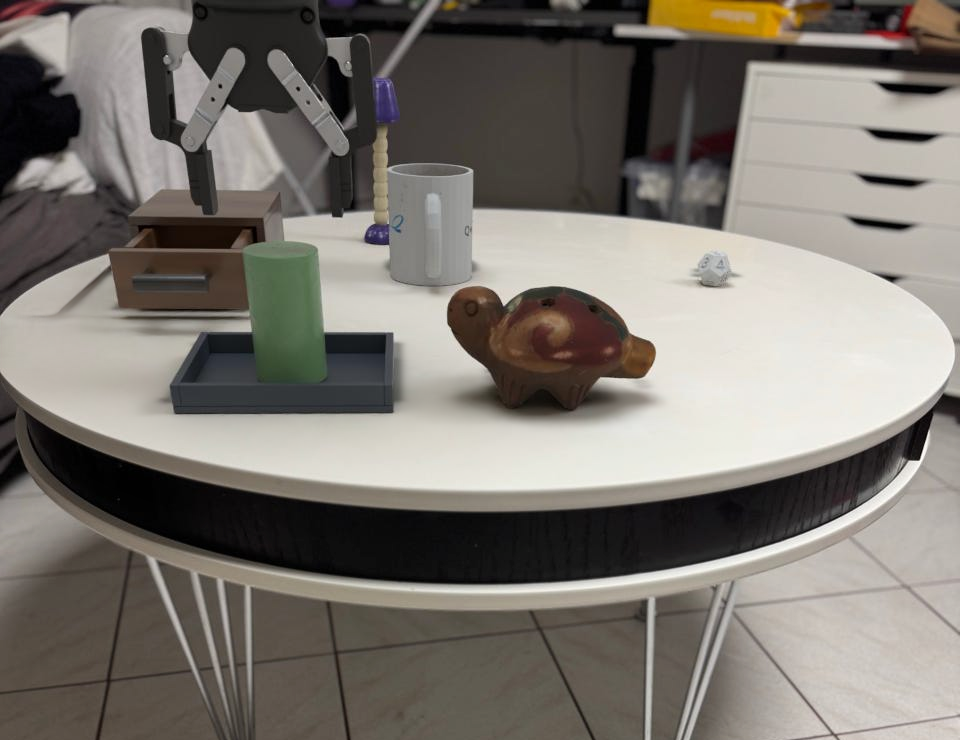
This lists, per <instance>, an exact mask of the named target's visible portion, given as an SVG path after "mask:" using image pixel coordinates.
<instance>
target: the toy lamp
mask: <svg viewBox="0 0 960 740" xmlns="http://www.w3.org/2000/svg"><path fill="white" fill-rule="evenodd" d="M373 81H374V93H375V106H376V118H377V130H378V132H377V138H376V141H375V142H374V143H373V144H372V149H373V151H374V152H373V155H372V163H373V166H374V168H373V172H372V174H373V180H374V182H373V186H372V187H373V195H374V198H373V208H374V212H373V221H374V223H372V224H371V225H369V226H368V227H367V229H366V230H365V233H364V237H363V239H364V241H365V242H366V243H370V244H374V245H389V217H388V185H387V169H388V167H387V166H388V162H389V155H388V153H387V151H388V147H389V145H388V144H389V143H388V139H387V136H388V124H397V123H399V122H400V120H401V116H400V115H401V114H400V111H399V106H398V105H399V104H398V101H397V96H396V93H395V88H394V84H393V82H392V80H391V79H390V78H387V77H386V78H385V77H373Z"/></svg>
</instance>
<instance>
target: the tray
mask: <svg viewBox="0 0 960 740" xmlns="http://www.w3.org/2000/svg"><path fill="white" fill-rule="evenodd" d="M394 335H395V334H394V332H393V331H388V332H387V331H324V336H325V349H326V362H327V377H326V379H324V380H323V381H322V382H278V383H262V382H260V381H259V380H258V378H257V371H256V363H255V354H254V346H253V338H252V331H201V332H200V333H199V335H198V337H197V338H196V340H195V342H194V343H193V345H192V346H191V348H190V350H189V352H188V353H187V356H186V357H185V358H184V360H183V361H182V364H181V365H180V367H179V369H178V370H177V372H176V374H175V376H174V377H173V379H172V381H171V382H170V384H169V391H170V397H171V402H172V407H173V413H174V414H291V413H292V414H300V413H302V414H303V413H304V414H305V413H306V414H309V413H311V414H313V413H314V414H315V413H316V414H317V413H319V414H321V413H324V414H325V413H328V414H330V413H332V414H333V413H335V414H337V413H338V414H339V413H340V414H341V413H394V406H395V405H394V400H395V398H394V397H395V396H394V394H395V338H394V337H395V336H394Z"/></svg>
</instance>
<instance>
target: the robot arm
mask: <svg viewBox="0 0 960 740" xmlns="http://www.w3.org/2000/svg"><path fill="white" fill-rule="evenodd" d="M190 3H191V13H192V17H191V18H192V19H191V25H190V29H189V31H188V32H186V31H184V32H183V31H175V30H166V29H165V28H164V27H161V26H156V25H155V26H149V27H146V28H144V29H143V30H142V32H141V35H140V42H141V53H142V61H143V73H144V81H145V82H144V83H145V90H146V102H147V111H148V112H147V113H148V121H149V131H150V133H151V135H152V136H153V138H155V139H156V140H158V141H166V142H168V143H170V144H172V145H174V146H177V147H179V149H181V150H182V152H183V154H184V158H185V164H186V171H187V178H188V186H189V190H190V194H191V198H192V200H193V202H194V204H195V206H202V212H203V215H212V216H215V214H216V213H217V212H218V200H217V192H216V190H217V185H216V176H215V169H214V161H213V160H214V159H213V152H212V149H208V144H207V141H208V139H209V138H210V136H211V134H212V132H213V131H214V129H215V127H216V125H217V124H218V122H219V121H220V119H221V118H222V116H223V115H224V113H225V111H226V110H227V107H228V106H229V107H231V108H232V109H234V110H236V111H237V113H254V112H258V111H260V110H264V111H267V112H271V113H274V114H284V115H285V114H286V115H288V114H289V113H291V112H293V111H295V110H297V109H298V108H299V109H300V110H301V112H302V113H303V114H304V116H305V118H306V119H307V120H308V121H309V123H310V124H311V125H312V127H314V129H316V131H317V132H318V134H319V135H320V136H321V138H322V140H324V142H325V143H326V144H327V146H328V147H329V148H330V151H331V152H330V153H329V155H328V172H329V173H328V174H329V191H330V208H331V210H330V211H331V217H332V218H335V219H336V218H338V219H339V218H341V219H343V218H344V213H345V212H344V210H345V209H351V205H352V202H353V198H354V191H353V190H354V188H353V187H354V186H353V167H352V166H353V165H352V163H353V162H352V156H353V153H354V152H355V151H357V150H359V149H362V148H365V147H367V146H373V143H374V142H375V141H376V138H377V132H378V130H377V118H376V106H375V93H374V81H373V78H374V69H373V58H372V46H371V41H370V38H369V37H368V36H367V35H366V34H364V33H357V34H355V35H354V36H348V37H344V36H343V37H326V35H325V33H324V30H323V28H322V26H321V22H320V15H319V0H190ZM187 52H189V53H190V55H191V57H192V59H193V60H194V61H195V62H196V64H197V65H198V68H200V69H201V71H202V72H203V73H204V74H205V76H206V78H207V79H208V80H209V83H208V84H207V87H206V88H205V91H204V92H203V94H202V96H201V97H200V99H199V101H198V103H197V105H196V106H195V109H194V111H193V114H192V116H191V117H190V119H189V121H188V122H187V123H186V122H184V121H181V120H179V119H178V118H177V116H178V115H177V106H176V95H175V81H174V71H178V70H179V69H180V68H181V66H182V65H183V58H184V55H185V53H187ZM329 57H331V58H333V59H334V60H336V62H337V64H338V67H339V70H340V72H341V73H342V75H344V77H347V78H352V85H353V98H354V107H355V117H356V124H355V125H352V126H349V127H347V128H345V127H344V126H343V124H342V122H341V121H340V120H339V118H338V117H337V116H336V115H335V113H334V111H333V110H332V108H331V106H330V104H329V103H328V102H327V100H326V99H325V97H324V96H323V94H322V93H321V91H320V90H319V88H318V87H317V86H316V84H315V82H316V80H317V78H318V76H319V74H320V73H321V71H322V70H323V68H324V66H325V64H326V62H328V61H327V60H328V59H329Z"/></svg>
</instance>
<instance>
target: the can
mask: <svg viewBox="0 0 960 740" xmlns="http://www.w3.org/2000/svg"><path fill="white" fill-rule="evenodd" d="M242 255H243V263H244V272H245V280H246V288H247V296H248V305H249V309H248V312H249V313H248V314H249V320H250V328H251V330H250V331H251V332H252V338H253V346H254V354H255V363H256V371H257V378H258V380H259V381H260V382H262V383H278V382H322V381H323V380H324V379H326V377H327V362H326V349H325V336H324V332H325V324H324V309H323V297H322V284H321V269H320V259H319V258H320V257H319V249H318V247H317V246H316V245H313V244H311V243H307V242H302V241H293V240H285V241H271V242H262V243H256V244H252V245H249V246H246V247H245V248H243V250H242Z"/></svg>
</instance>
